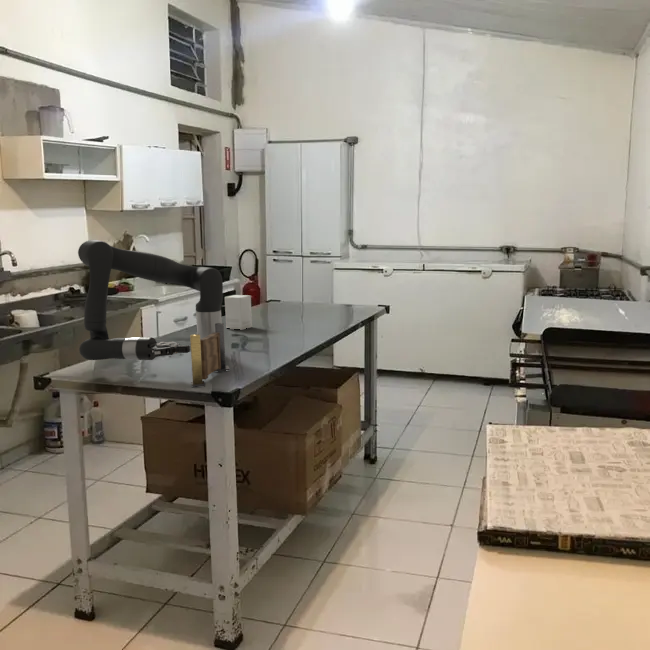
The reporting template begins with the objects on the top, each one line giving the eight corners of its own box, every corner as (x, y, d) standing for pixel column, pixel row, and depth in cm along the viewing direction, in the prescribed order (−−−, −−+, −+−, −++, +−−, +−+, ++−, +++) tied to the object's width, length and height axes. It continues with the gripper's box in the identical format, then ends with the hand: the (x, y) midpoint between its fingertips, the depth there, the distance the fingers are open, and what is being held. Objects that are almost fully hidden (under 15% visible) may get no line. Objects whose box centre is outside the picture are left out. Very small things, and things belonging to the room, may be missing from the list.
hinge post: (213, 368, 239) (210, 323, 237) (228, 367, 240) (226, 322, 238) (214, 372, 234) (212, 325, 232) (229, 371, 235) (227, 324, 233)
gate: (215, 367, 235) (213, 331, 233) (222, 368, 235) (220, 331, 233) (196, 380, 219) (194, 340, 217) (203, 380, 218) (201, 341, 216)
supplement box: (252, 327, 322) (251, 295, 320) (241, 330, 314) (240, 297, 312) (236, 326, 326) (235, 294, 324) (225, 329, 319) (224, 296, 316)
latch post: (191, 384, 219) (188, 334, 216) (203, 383, 219) (201, 333, 217) (191, 387, 215) (188, 336, 212) (204, 386, 216) (202, 335, 213)
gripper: (129, 341, 222) (179, 342, 219) (147, 333, 235) (195, 333, 231) (131, 364, 224) (181, 365, 220) (149, 355, 236) (197, 355, 233)
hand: (188, 349), depth 226 cm, fingers closed
